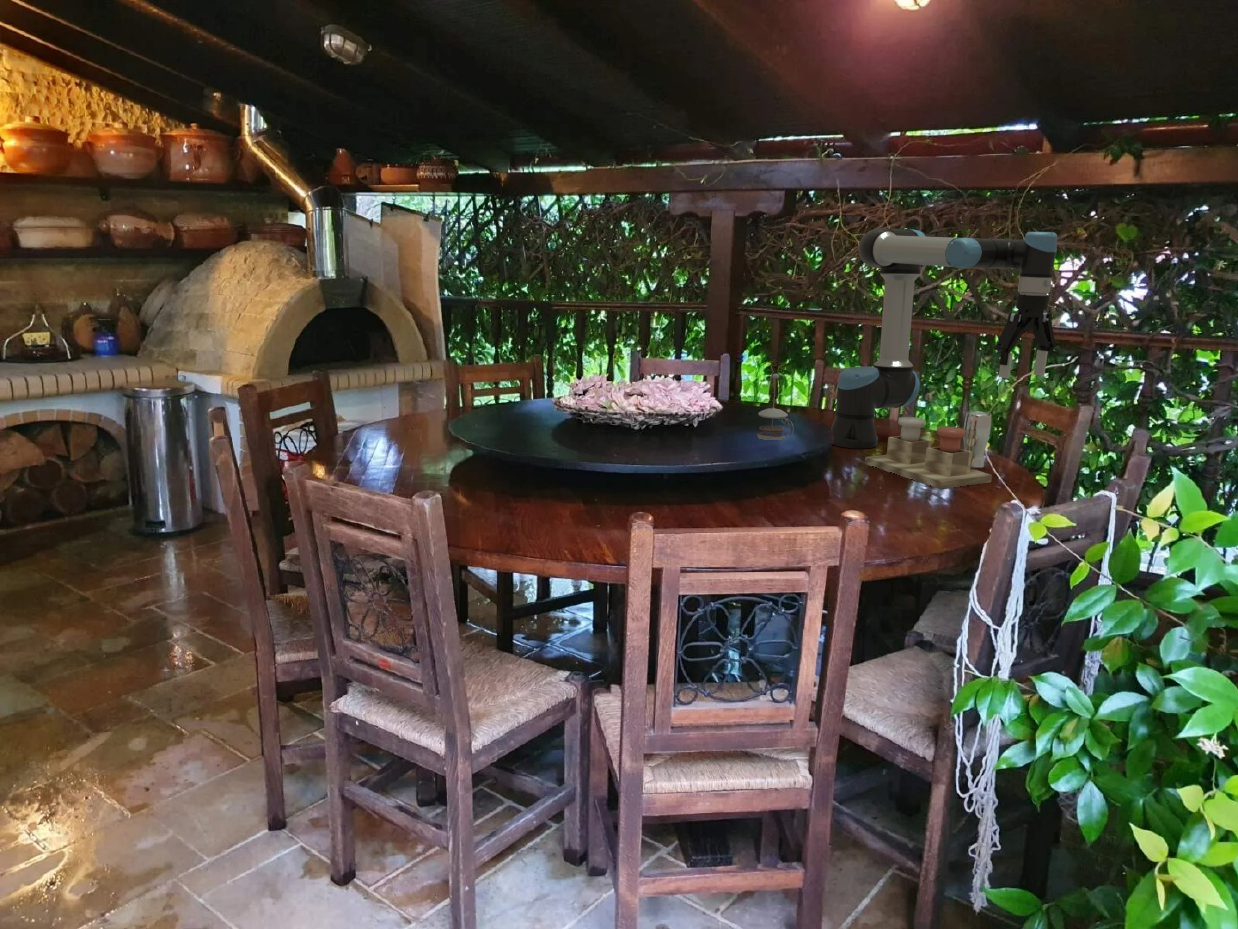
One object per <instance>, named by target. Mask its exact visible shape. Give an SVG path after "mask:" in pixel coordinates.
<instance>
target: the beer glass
mask: <svg viewBox="0 0 1238 929" xmlns="http://www.w3.org/2000/svg"><path fill="white" fill-rule="evenodd" d="M963 424H964V425H963V429H965V430H966V435H965V437H963V449H964V450H967V451H971V452H972V458H971V466H970V469H983V468H984V467H985V459H984V458H985V456H984V455H985V452H986V448H987V445H988V441H989V440H990V436H991V435H990V434H991V430H992V428H991V427H992V413H990V412H985V411H971V410H970V411H967V412H966V414H965V418H964V423H963Z"/></svg>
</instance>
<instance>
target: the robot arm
mask: <svg viewBox="0 0 1238 929" xmlns="http://www.w3.org/2000/svg"><path fill="white" fill-rule="evenodd" d="M1057 245H1058V234H1057V233H1056V232H1052V231H1028V232H1026V233H1025V236H1024V239H1007V238H1006V239H1005V238H977V237H976V238H974V237H945V236H926V235H925V233H924V232H922V231H921V230H918V229H911V228H885V227H879V228H874V229H871V230H869V231H867V232H866V233H865V234H864V235H863V236H862V238H861V239H860V242H859V244H858V250H857V251H858V255H859V258H860V260H861V261H862V262H863V263H864V264H865V265H866V266H868V267H870V268H873V269H880V276H881V277H882V278H883V280H884V290H883V304H882V305H883V306H882V321H881V333H880V348H879V359H878V360H877V361H876V362H874V363H873V366H869V365H868V366H866V365H865V366H851V367H848V368H845V369H843V370H841V371H840V372H839V375H838V381H837V384H836V386H837V391H836V403H835V404H836V405H835V416H834V420H833V422H832V424H831V427H830V430H831V432H832V433H833V435H834V445H833V446H836V447H841V448H848V449H871V448H872V449H874V448H876V447H877V446H878V443H879V436H878V434H877V430H876V429H877V428H876V423H875V413H876V412H875V411H876V410H877V409H888V408H890V409H891V408H892V409H893V408H894V409H897V408H901V407H907V406H909V405H910V404H911V403H912V402H914V401H915V400H916V398H917V397H918V396H919V392H920V387H921V386H920V385H921V382H920V378H919V377H918V375H917V372H915V371H914V370H913V369H914V364H913V363H912V362H911V361H910V360H909V358H910V354H909V353H910V342H911V329H912V317H913V304H914V294H915V293H914V291H915V281H916V280H917V279H918V278H919V277H920V276H921V269H922V268H923V267H925V266H934V267H951V268H956V269H960V270H961V269H963V270H964V269H965V270H966V269H997V270H1020V272H1019V273H1020V274H1019V279H1018V280H1019V281H1018V284H1017V286H1018V287H1017V292H1018V293H1019V294H1017V296H1016V303H1015V308H1016V309H1017V313H1013V312H1009V313H1008V316H1007V321H1006V324H1005V325H1004V328H1003V330H1002V332H1001V334H1000V336H999V338H998V341H997V343H996V344H995V348H994V349H995V350H996V351H997V352H1000V358H999V372H998V378H1002V379H1010V377H1011V376H1010V375H1011V369H1012V368H1011V367H1012V363H1013V362H1012V361H1013V354H1014V352H1012V350H1013V349H1014V347H1015V346H1016V344H1018V342H1019V340H1020V338H1022V336H1023V334H1026V333H1027V332H1032V334H1033V336H1034V338H1035V341H1036V343H1037V345H1038V348H1039V349H1037V350H1036V356H1035V361H1034V362H1035V363H1034V369H1033V375H1035V376H1040V377H1044V376H1045V373H1046V365H1047V362H1048V357H1049V352H1053V351H1054V349H1055V348H1056V340H1055V335H1054V329H1053V324H1052V319H1053V318H1052V316H1053V314H1052V312H1044V311H1047V310H1048V308H1049V301H1050V297H1049V295H1048V294H1050V292H1051V286H1052V279H1053V272H1054V265H1055V262H1056V261H1055V260H1056V255H1057V251H1058V246H1057Z"/></svg>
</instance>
